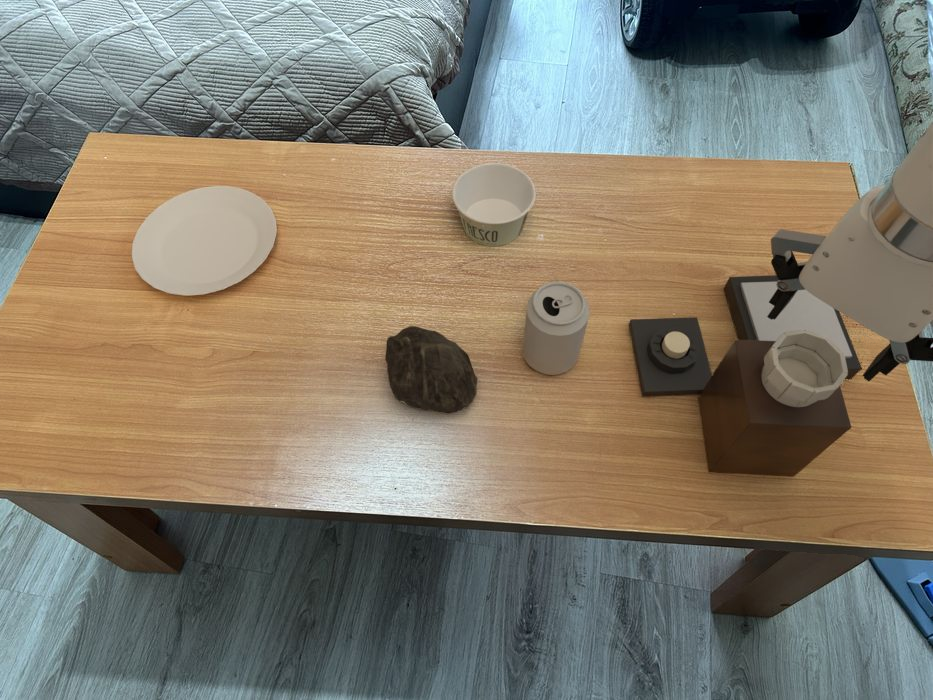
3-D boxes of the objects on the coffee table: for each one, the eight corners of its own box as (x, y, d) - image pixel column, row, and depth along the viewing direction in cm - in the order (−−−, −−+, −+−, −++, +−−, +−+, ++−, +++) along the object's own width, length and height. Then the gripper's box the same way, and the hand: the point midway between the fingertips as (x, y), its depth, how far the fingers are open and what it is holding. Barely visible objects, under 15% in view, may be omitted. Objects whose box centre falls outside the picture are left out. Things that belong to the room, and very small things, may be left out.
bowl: (838, 379, 68) (860, 357, 64) (804, 425, 65) (824, 405, 61) (778, 340, 70) (795, 317, 66) (742, 384, 68) (758, 362, 64)
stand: (778, 401, 82) (828, 342, 70) (794, 476, 77) (851, 427, 65) (697, 397, 83) (734, 339, 71) (708, 472, 77) (750, 423, 65)
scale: (851, 378, 84) (864, 366, 81) (750, 382, 84) (760, 369, 81) (815, 285, 91) (826, 270, 88) (723, 288, 91) (731, 274, 88)
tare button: (689, 358, 82) (692, 352, 81) (664, 359, 82) (667, 353, 81) (684, 337, 84) (687, 330, 83) (659, 338, 84) (662, 331, 83)
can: (513, 338, 88) (518, 284, 77) (565, 323, 89) (577, 268, 78) (533, 384, 84) (540, 334, 74) (587, 369, 85) (602, 317, 75)
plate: (177, 329, 89) (171, 320, 87) (115, 240, 98) (108, 230, 96) (306, 254, 96) (303, 244, 94) (237, 176, 105) (233, 165, 103)
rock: (476, 425, 80) (464, 378, 72) (388, 423, 82) (367, 377, 74) (484, 360, 86) (474, 310, 78) (402, 359, 88) (384, 310, 80)
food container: (539, 201, 101) (543, 169, 95) (523, 260, 95) (526, 229, 89) (464, 188, 102) (463, 156, 97) (444, 245, 96) (442, 214, 91)
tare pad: (712, 394, 83) (720, 383, 80) (642, 397, 83) (647, 385, 80) (694, 322, 88) (700, 310, 86) (628, 324, 88) (632, 312, 86)
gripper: (1080, 247, 45) (930, 367, 59) (844, 131, 51) (762, 266, 66) (1040, 314, 42) (894, 423, 57) (796, 182, 48) (722, 311, 63)
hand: (823, 338), depth 61 cm, fingers open, 9 cm apart
